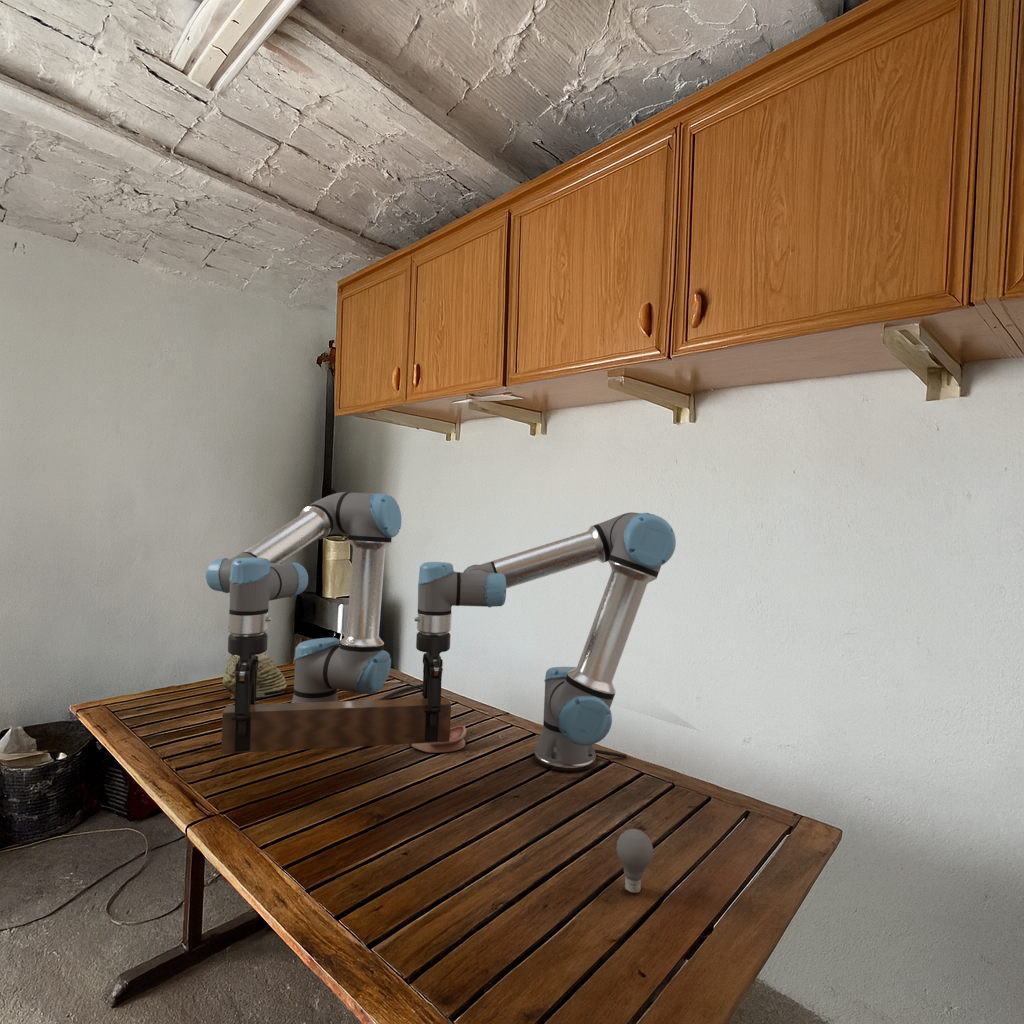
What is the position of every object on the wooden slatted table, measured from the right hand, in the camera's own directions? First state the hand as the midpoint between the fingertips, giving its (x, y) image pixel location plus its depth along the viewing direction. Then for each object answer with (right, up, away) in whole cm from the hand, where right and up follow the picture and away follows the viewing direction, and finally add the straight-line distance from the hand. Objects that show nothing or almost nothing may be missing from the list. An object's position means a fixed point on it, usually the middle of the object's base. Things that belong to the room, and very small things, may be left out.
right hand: (429, 735), depth 141 cm
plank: (-19, 0, -5) cm, 19 cm away
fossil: (-62, -7, +57) cm, 85 cm away
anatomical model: (-1, -11, +23) cm, 26 cm away
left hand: (-37, +2, -10) cm, 38 cm away
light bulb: (+38, -14, -35) cm, 54 cm away
